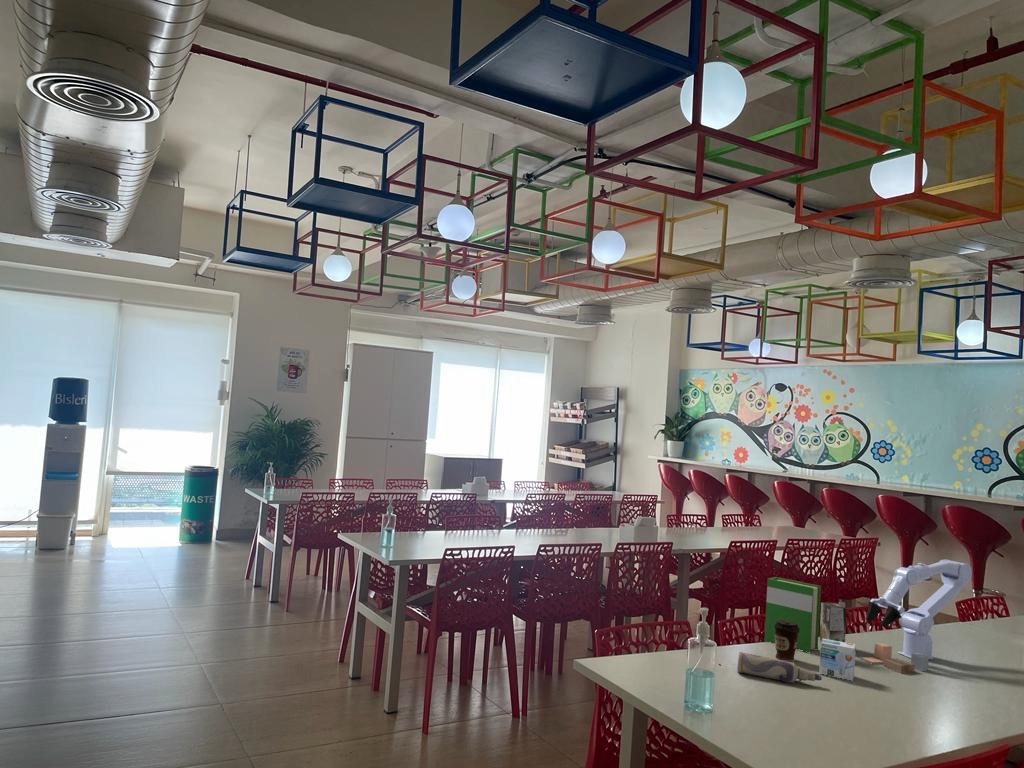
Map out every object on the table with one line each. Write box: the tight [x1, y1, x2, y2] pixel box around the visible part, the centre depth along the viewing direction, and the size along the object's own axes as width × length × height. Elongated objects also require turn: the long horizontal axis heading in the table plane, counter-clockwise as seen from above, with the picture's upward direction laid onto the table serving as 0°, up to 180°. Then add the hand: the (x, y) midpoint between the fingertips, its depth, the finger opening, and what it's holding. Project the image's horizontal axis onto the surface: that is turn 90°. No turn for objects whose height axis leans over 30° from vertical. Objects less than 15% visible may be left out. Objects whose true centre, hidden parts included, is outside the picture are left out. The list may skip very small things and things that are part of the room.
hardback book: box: [763, 576, 822, 653], centre depth 280 cm, size 18×7×24 cm, turn 45°
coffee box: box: [819, 601, 847, 644], centre depth 282 cm, size 9×6×16 cm
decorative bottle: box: [736, 651, 823, 684], centre depth 237 cm, size 26×8×7 cm, turn 67°
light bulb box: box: [818, 638, 856, 682], centre depth 246 cm, size 11×7×11 cm, turn 62°
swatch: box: [857, 656, 883, 665], centre depth 266 cm, size 7×7×1 cm
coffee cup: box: [774, 620, 800, 662], centre depth 260 cm, size 9×8×13 cm
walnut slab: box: [882, 657, 916, 674], centre depth 258 cm, size 7×7×3 cm
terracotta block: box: [873, 642, 893, 661], centre depth 271 cm, size 4×4×5 cm
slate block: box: [910, 653, 929, 672], centre depth 260 cm, size 4×4×5 cm
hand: (875, 623), depth 271 cm, fingers open, 7 cm apart
